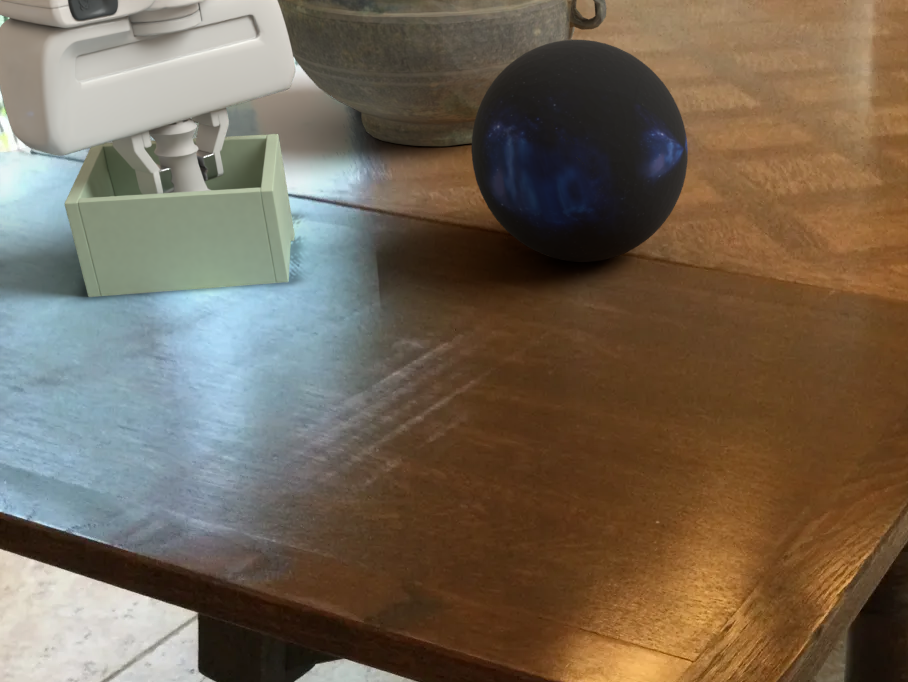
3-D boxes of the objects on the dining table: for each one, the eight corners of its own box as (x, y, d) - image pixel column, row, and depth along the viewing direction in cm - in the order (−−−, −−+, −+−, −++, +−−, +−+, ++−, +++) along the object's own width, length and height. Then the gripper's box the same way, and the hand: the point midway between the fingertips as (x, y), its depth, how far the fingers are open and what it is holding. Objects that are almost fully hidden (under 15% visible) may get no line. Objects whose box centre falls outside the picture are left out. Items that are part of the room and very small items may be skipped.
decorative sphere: (459, 290, 93) (437, 67, 85) (504, 215, 105) (489, 14, 97) (677, 299, 92) (676, 75, 84) (695, 223, 105) (697, 21, 96)
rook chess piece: (149, 226, 93) (123, 110, 89) (213, 214, 96) (190, 99, 91) (171, 246, 90) (145, 126, 86) (236, 232, 93) (214, 115, 88)
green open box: (92, 315, 88) (63, 203, 84) (116, 246, 99) (91, 143, 94) (291, 300, 91) (273, 190, 87) (294, 234, 101) (278, 133, 97)
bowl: (213, 156, 116) (178, -29, 108) (329, 78, 138) (307, -80, 130) (577, 179, 113) (569, -10, 105) (637, 96, 135) (634, -66, 126)
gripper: (232, -61, 93) (266, 140, 100) (-44, -11, 78) (21, 220, 85) (298, -51, 90) (328, 154, 97) (26, 2, 75) (86, 239, 83)
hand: (183, 186), depth 91 cm, fingers closed on rook chess piece, 3 cm apart
